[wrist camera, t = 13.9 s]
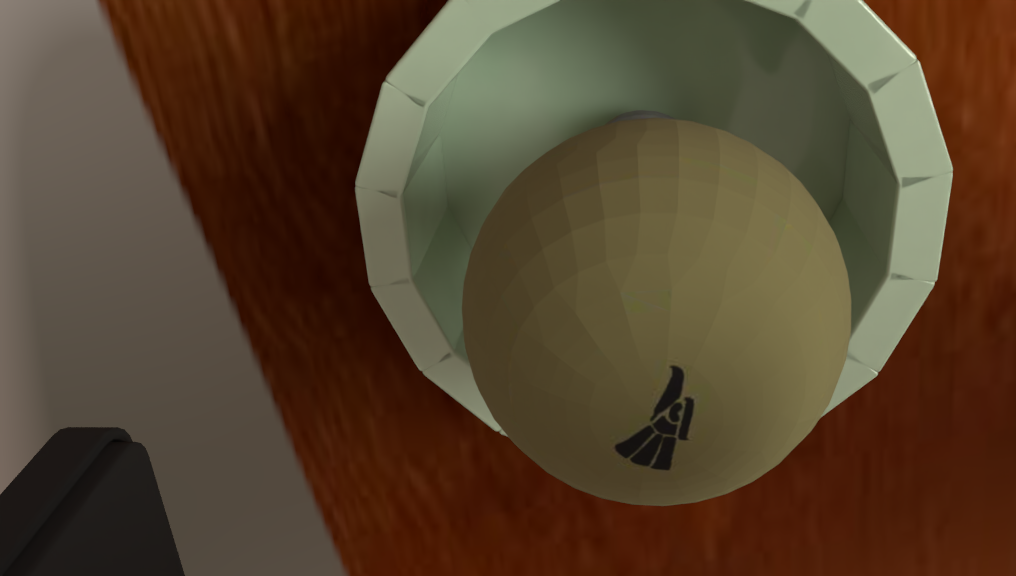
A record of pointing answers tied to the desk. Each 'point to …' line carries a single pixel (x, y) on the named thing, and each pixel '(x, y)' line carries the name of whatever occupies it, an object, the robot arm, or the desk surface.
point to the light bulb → (656, 311)
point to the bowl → (666, 89)
